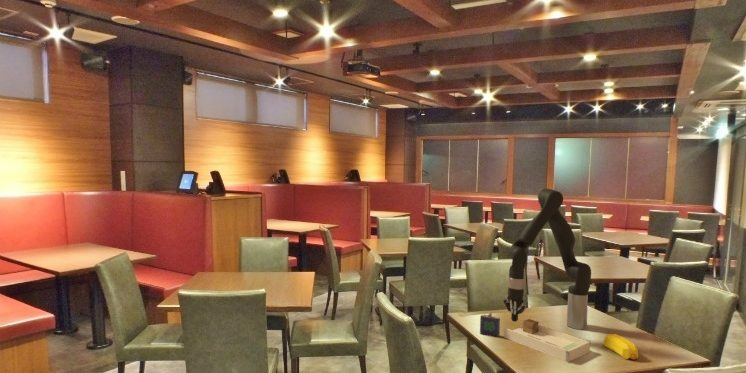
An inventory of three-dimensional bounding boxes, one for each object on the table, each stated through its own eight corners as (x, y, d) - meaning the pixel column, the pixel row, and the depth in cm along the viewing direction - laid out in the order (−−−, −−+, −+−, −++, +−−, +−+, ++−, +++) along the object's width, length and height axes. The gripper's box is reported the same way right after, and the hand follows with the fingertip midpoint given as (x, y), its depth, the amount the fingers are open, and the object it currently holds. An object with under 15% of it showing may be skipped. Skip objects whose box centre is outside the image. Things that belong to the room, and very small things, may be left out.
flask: (499, 335, 212) (500, 313, 212) (499, 337, 210) (499, 315, 209) (480, 332, 216) (480, 310, 215) (479, 334, 213) (479, 312, 213)
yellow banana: (626, 362, 186) (643, 361, 187) (627, 346, 186) (644, 345, 187) (598, 345, 204) (614, 344, 205) (599, 330, 203) (614, 330, 205)
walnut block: (528, 329, 216) (529, 318, 216) (538, 332, 212) (538, 322, 212) (522, 331, 213) (523, 321, 213) (532, 334, 209) (532, 324, 209)
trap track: (526, 329, 221) (526, 320, 220) (589, 351, 195) (590, 341, 195) (503, 337, 210) (504, 328, 210) (567, 362, 184) (568, 351, 184)
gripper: (532, 288, 216) (530, 323, 216) (509, 282, 226) (507, 315, 227) (523, 290, 211) (521, 326, 212) (500, 284, 222) (498, 318, 222)
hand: (514, 321), depth 219 cm, fingers closed
